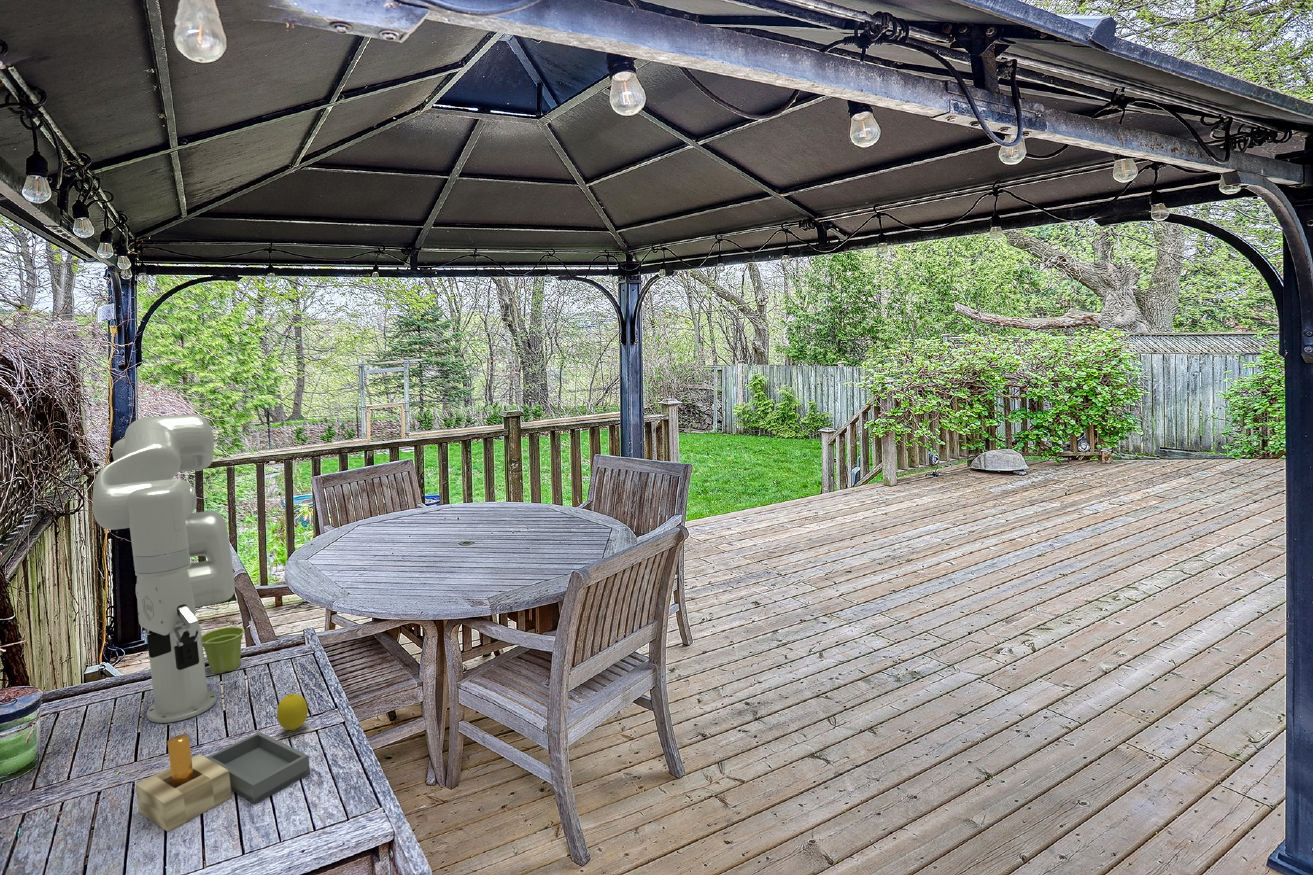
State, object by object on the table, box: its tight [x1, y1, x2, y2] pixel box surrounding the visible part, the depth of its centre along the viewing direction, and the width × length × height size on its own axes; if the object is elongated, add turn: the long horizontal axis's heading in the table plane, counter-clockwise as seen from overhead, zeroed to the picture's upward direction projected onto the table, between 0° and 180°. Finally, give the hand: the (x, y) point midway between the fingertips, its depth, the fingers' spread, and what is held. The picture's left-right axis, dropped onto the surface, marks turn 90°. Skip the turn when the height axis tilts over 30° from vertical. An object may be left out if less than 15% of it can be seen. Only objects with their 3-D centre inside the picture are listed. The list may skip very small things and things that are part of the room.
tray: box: [206, 731, 311, 805], centre depth 127 cm, size 16×10×4 cm, turn 59°
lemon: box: [276, 692, 309, 732], centre depth 142 cm, size 6×6×8 cm
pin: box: [167, 733, 194, 788], centre depth 119 cm, size 3×3×12 cm
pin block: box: [134, 753, 233, 832], centre depth 119 cm, size 10×10×5 cm
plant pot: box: [201, 626, 245, 674], centre depth 170 cm, size 9×9×9 cm
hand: (174, 660), depth 117 cm, fingers open, 9 cm apart
